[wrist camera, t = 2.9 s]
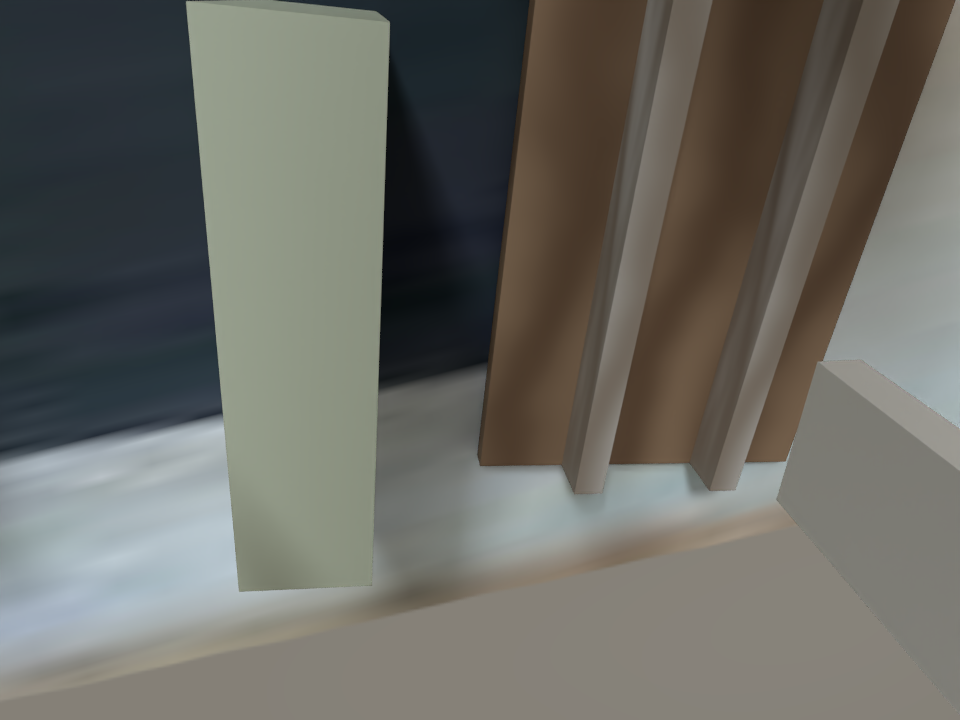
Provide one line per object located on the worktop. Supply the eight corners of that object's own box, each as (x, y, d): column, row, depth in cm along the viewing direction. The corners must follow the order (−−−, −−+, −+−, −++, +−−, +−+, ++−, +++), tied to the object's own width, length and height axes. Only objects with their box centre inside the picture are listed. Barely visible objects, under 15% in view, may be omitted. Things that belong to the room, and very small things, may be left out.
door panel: (284, 371, 33) (239, 591, 21) (269, -1, 26) (185, 1, 13) (367, 372, 34) (371, 585, 21) (376, 11, 26) (389, 22, 14)
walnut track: (477, 454, 37) (488, 495, 34) (544, -123, 25) (569, -140, 22) (776, 451, 40) (810, 488, 37) (959, -62, 28) (1032, -69, 25)
